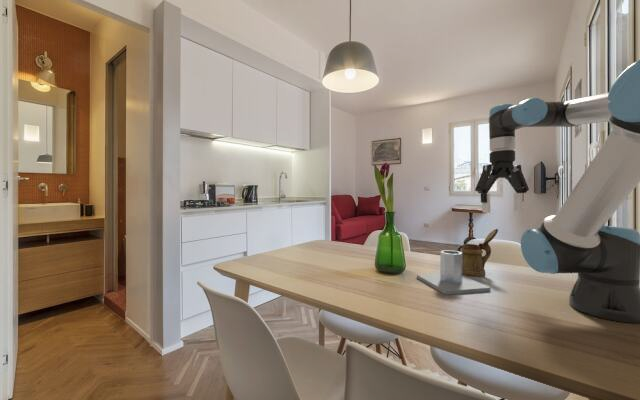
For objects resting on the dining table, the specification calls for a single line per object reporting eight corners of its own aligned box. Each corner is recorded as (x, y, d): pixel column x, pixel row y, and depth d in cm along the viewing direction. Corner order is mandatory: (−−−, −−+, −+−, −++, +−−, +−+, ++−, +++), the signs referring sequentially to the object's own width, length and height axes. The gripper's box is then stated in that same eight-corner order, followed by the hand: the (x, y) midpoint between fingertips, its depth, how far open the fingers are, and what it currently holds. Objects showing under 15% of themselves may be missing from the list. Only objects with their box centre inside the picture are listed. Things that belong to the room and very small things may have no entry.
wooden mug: (501, 278, 105) (501, 230, 104) (460, 275, 109) (460, 229, 109) (495, 272, 113) (495, 227, 113) (457, 269, 118) (457, 226, 117)
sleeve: (453, 277, 103) (453, 249, 103) (466, 282, 97) (466, 253, 96) (437, 278, 102) (437, 250, 102) (448, 284, 96) (448, 254, 95)
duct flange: (490, 291, 92) (490, 266, 92) (445, 294, 89) (445, 269, 89) (455, 275, 110) (455, 254, 109) (416, 277, 107) (416, 256, 107)
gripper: (521, 153, 105) (521, 210, 105) (463, 151, 99) (464, 212, 99) (541, 150, 98) (541, 211, 98) (480, 148, 92) (480, 213, 92)
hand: (502, 212), depth 99 cm, fingers open, 13 cm apart
